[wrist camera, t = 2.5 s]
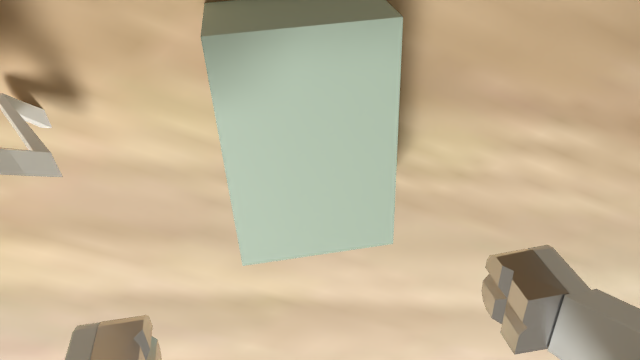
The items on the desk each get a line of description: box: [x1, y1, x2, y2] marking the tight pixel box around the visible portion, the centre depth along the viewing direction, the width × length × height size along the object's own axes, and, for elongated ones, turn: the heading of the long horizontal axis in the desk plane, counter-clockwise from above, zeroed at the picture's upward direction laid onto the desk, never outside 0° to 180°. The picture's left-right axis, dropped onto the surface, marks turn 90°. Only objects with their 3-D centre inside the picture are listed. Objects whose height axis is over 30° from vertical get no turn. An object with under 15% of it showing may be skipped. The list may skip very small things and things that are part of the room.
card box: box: [201, 0, 403, 266], centre depth 19 cm, size 6×9×4 cm, turn 2°
